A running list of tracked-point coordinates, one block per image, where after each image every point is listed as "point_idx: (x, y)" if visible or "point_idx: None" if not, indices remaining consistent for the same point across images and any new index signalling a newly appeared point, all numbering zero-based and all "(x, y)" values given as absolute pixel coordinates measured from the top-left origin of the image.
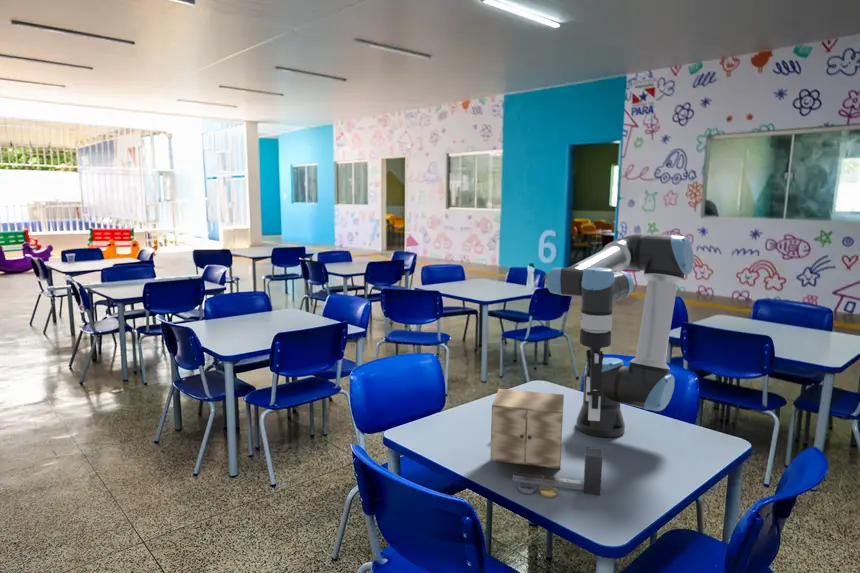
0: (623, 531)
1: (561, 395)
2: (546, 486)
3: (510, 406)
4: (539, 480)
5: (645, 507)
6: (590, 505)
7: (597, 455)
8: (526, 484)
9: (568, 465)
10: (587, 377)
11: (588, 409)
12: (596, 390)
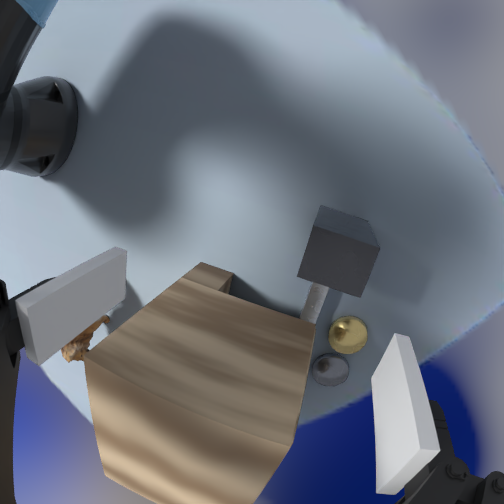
0: (500, 229)
1: (95, 369)
2: (332, 337)
3: None
4: None
5: (422, 133)
6: (408, 260)
7: (362, 258)
8: (319, 370)
9: (211, 246)
10: (36, 361)
11: (375, 415)
12: (85, 274)
